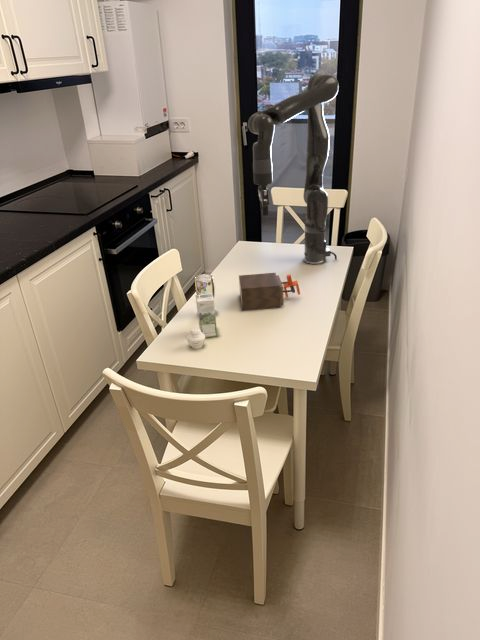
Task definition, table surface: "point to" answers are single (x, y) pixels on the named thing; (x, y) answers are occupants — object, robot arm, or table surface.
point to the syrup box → (206, 314)
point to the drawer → (282, 289)
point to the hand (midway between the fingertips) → (264, 212)
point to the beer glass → (205, 285)
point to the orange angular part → (290, 285)
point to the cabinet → (259, 291)
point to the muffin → (196, 338)
